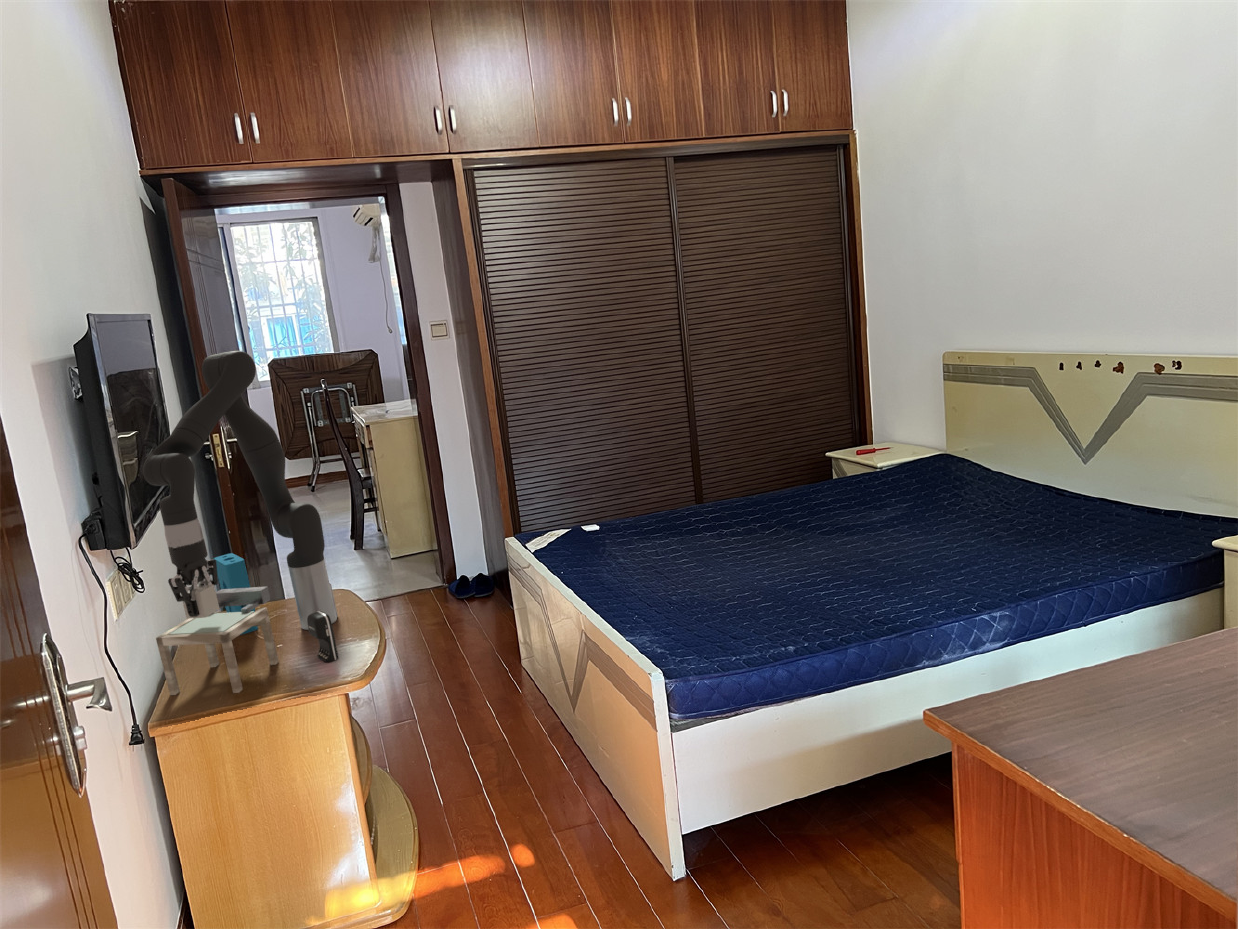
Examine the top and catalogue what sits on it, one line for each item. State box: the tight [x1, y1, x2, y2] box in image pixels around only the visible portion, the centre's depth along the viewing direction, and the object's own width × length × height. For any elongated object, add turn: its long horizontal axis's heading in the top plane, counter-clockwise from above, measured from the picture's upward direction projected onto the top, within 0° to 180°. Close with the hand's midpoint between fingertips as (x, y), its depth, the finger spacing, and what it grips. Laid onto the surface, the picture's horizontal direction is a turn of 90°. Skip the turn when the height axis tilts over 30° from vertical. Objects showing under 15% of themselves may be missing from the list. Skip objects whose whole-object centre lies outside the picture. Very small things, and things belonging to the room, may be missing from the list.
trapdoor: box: [169, 585, 271, 635], centre depth 213 cm, size 20×14×4 cm
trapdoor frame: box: [155, 607, 280, 696], centre depth 211 cm, size 16×18×14 cm
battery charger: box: [307, 611, 339, 663], centre depth 215 cm, size 7×4×11 cm, turn 40°
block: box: [213, 552, 259, 636], centre depth 244 cm, size 12×5×20 cm, turn 39°
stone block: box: [180, 585, 221, 620], centre depth 206 cm, size 5×5×6 cm
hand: (202, 611), depth 207 cm, fingers closed on stone block, 5 cm apart
